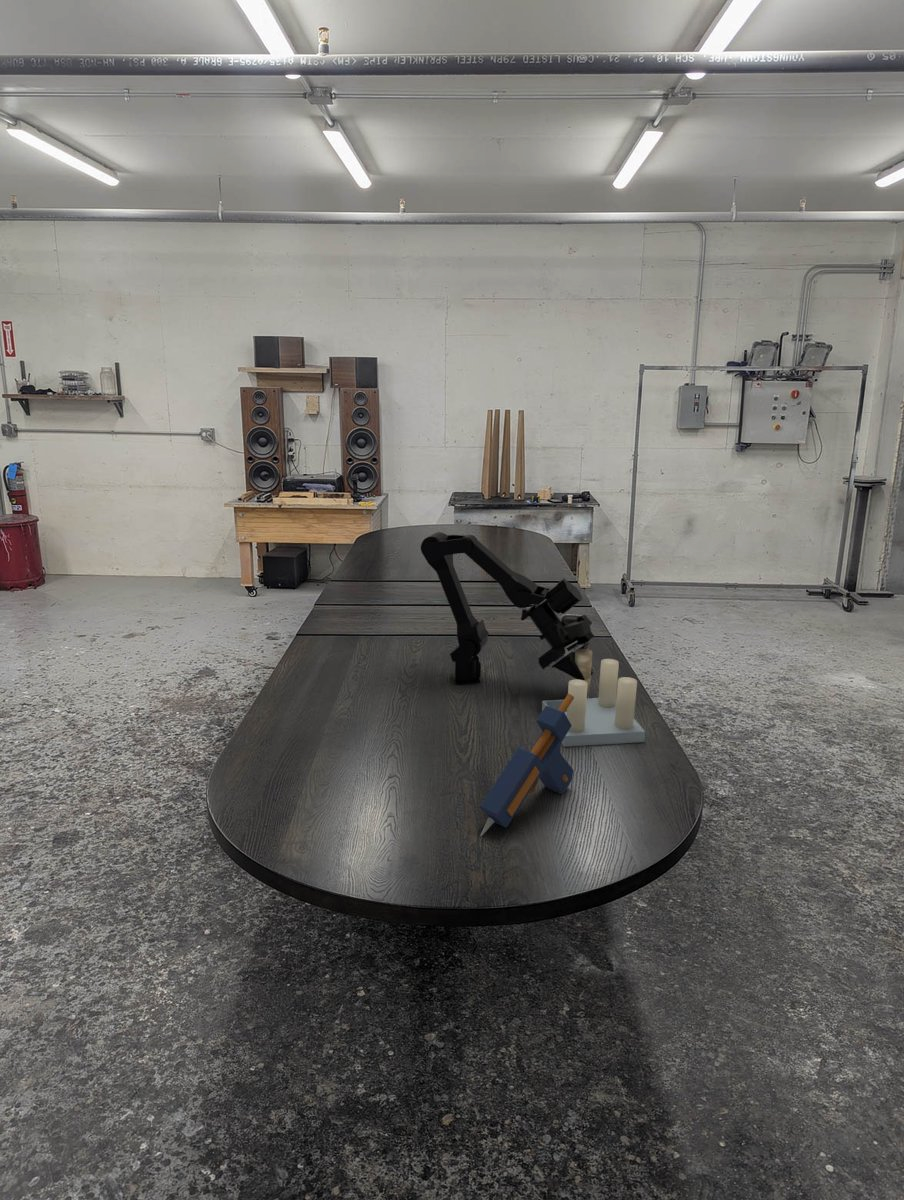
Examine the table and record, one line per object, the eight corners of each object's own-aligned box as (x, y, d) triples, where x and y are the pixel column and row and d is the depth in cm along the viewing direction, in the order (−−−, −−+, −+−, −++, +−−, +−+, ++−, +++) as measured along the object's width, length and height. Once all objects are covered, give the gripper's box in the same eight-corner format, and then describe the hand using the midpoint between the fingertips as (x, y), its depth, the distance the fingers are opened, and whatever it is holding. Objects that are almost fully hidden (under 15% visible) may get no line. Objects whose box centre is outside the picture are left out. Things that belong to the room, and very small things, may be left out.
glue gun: (498, 863, 135) (467, 826, 125) (570, 726, 149) (547, 683, 139) (526, 876, 131) (496, 838, 121) (597, 734, 145) (575, 690, 135)
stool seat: (563, 746, 157) (567, 690, 153) (541, 710, 174) (544, 658, 170) (644, 741, 159) (649, 686, 155) (614, 706, 176) (619, 655, 172)
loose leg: (575, 705, 176) (579, 655, 173) (569, 699, 180) (572, 649, 176) (591, 704, 177) (595, 653, 173) (584, 697, 181) (588, 648, 177)
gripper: (552, 616, 167) (593, 673, 164) (589, 598, 181) (628, 650, 178) (521, 641, 174) (559, 696, 171) (559, 622, 188) (596, 672, 185)
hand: (587, 678), depth 176 cm, fingers closed on loose leg, 4 cm apart
